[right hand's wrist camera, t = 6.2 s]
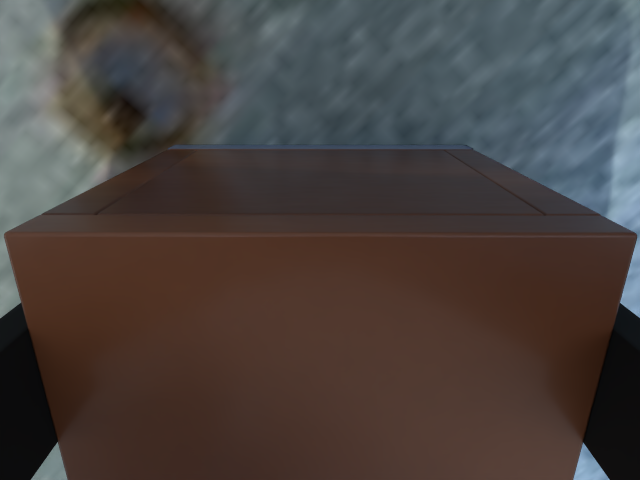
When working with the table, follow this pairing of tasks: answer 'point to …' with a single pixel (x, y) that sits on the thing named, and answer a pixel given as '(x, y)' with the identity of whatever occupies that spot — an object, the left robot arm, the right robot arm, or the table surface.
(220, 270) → the cabinet
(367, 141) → the table surface
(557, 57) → the table surface
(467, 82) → the table surface
